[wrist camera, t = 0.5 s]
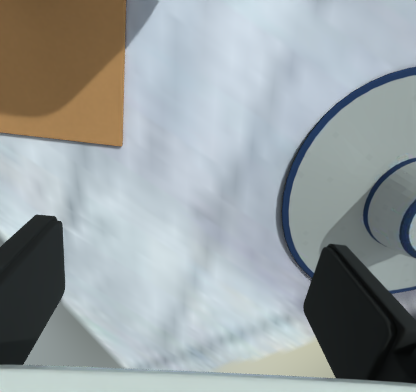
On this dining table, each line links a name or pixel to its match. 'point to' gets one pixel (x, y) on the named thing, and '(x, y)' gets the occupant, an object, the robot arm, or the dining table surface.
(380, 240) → the sun hat
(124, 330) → the dining table surface
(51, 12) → the cork mat
